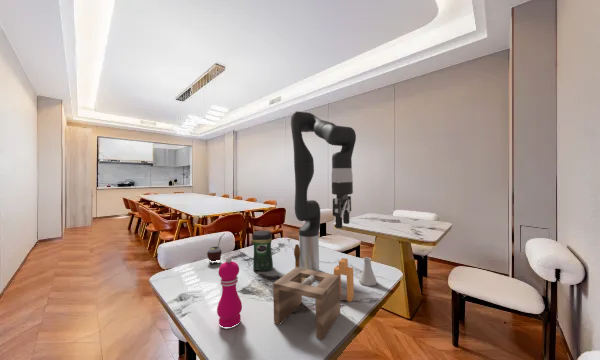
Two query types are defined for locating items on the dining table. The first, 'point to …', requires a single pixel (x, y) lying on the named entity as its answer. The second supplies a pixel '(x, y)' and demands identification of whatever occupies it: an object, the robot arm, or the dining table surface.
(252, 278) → the dining table surface
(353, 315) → the dining table surface
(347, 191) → the robot arm
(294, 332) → the dining table surface
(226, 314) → the pepper mill
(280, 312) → the brown square frame
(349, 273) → the stepped orange block
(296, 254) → the hand bell
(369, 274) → the flask
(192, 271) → the dining table surface
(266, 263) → the coffee jar
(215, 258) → the mate gourd
